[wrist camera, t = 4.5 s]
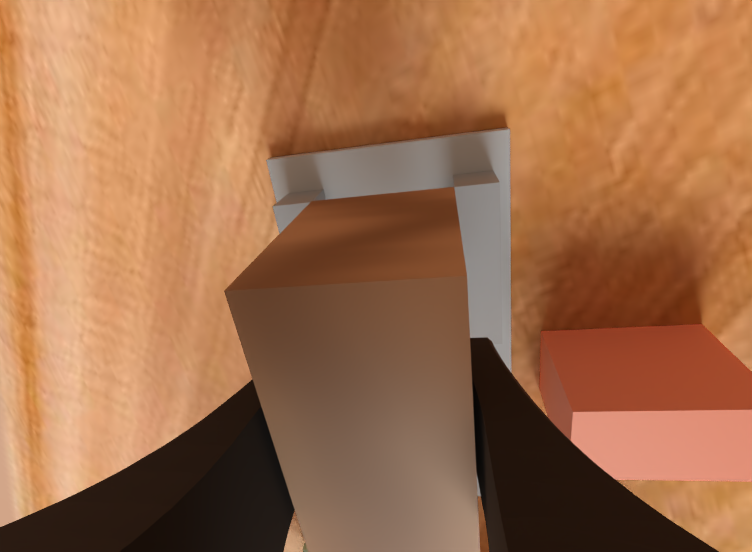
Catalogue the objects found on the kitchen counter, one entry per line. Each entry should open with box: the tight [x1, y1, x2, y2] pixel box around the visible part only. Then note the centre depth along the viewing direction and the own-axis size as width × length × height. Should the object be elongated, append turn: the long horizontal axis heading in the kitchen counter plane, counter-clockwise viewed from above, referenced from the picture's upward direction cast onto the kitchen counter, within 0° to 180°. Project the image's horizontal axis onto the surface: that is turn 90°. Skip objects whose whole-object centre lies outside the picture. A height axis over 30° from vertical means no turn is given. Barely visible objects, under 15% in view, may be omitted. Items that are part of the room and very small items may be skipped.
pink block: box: [539, 324, 752, 482], centre depth 18 cm, size 7×4×6 cm, turn 98°
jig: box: [266, 127, 511, 496], centre depth 20 cm, size 10×19×3 cm, turn 8°
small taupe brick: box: [224, 187, 480, 552], centre depth 11 cm, size 4×8×6 cm, turn 8°
